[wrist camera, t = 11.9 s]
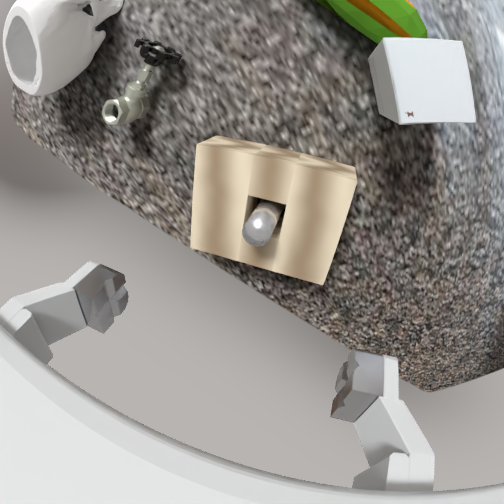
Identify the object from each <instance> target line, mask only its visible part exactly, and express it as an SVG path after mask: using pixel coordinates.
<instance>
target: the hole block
mask: <svg viewBox="0 0 504 504" xmlns="http://www.w3.org/2000/svg"><path fill="white" fill-rule="evenodd" d="M356 184H357V177H356V171H355V167H352V166H349V165H345V164H342V163H338V162H335V161H331V160H327V159H323V158H320V157H316V156H312V155H308V154H304V153H300V152H296V151H291V150H287V149H283V148H278V147H274V146H269V145H264V144H259V143H254V142H249V141H244V140H239V139H233V138H227V137H222V136H215V137H213V138H210V139H208V140H206V141H203V142H201V143H199V144H197V147H196V159H195V173H194V187H193V204H192V224H191V248H194V249H198V250H201V251H205V252H208V253H211V254H215V255H218V256H222V257H225V258H229V259H232V260H235V261H239V262H242V263H246V264H249V265H253V266H256V267H260V268H263V269H267V270H270V271H274V272H277V273H281V274H284V275H288V276H291V277H295V278H298V279H302V280H306V281H309V282H313V283H316V284H320V285H323V284H324V282H325V279H326V276H327V273H328V271H329V268H330V265H331V262H332V259H333V256H334V253H335V251H336V248H337V245H338V242H339V239H340V236H341V233H342V230H343V226H344V223H345V220H346V217H347V214H348V211H349V207H350V204H351V201H352V198H353V194H354V191H355V187H356ZM258 198H262V199H266V200H270V201H274V202H278V203H282V204H286V209H285V214H284V217H281V216H280V218H279V220H278V222H277V224H276V226H275V228H274V230H273V233H272V235H271V237H270V239H269V241H268V242H267V243H266V244H265V245H263V246H252V245H250V244H249V243H247V242H246V241H245V239H244V238H243V235H242V229H243V226H244V225H245V223H246V222H247V220H248V219H249V217H250V216H251V214H252V213H253V211H254V210H255V209H256V207H257V201H258Z"/></svg>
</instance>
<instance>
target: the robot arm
mask: <svg viewBox="0 0 504 504" xmlns="http://www.w3.org/2000/svg"><path fill="white" fill-rule="evenodd" d="M125 282H126V281H125V276H124V274H122V273H120V272H118V271H115V270H113V269H111V268H109V267H106V266H104V265H102V264H99V263H97V262H95V261H89V262H88V263H86V264H85V265H84V266H83V267H82V268H80V269H79V270H78V271H77V272H76V273H75V274H73V275H72V276H71V277H70V278H69V279H68V280H67V281H65V282H64V283H61V282H60V283H57V284H53V285H50V286H47V287H44V288H41V289H37V290H35V291H31V292H28V293H25V294H21V295H19V296H15V297H12V298H11V299H10V300H9V301H8V302H7V303H6V304H5V305H4V306H3V307H2V308H1V309H0V504H504V483H501V484H496V485H490V486H484V487H477V488H468V489H459V490H447V491H433V483H434V460H435V457H434V456H435V455H434V452H433V451H432V449H431V447H430V445H429V444H428V442H427V440H426V439H425V437H424V435H423V433H422V432H421V430H420V428H419V427H418V425H417V423H416V422H415V420H414V418H413V417H412V415H411V413H410V412H409V410H408V408H407V407H406V405H405V403H404V402H403V401H402V400H399V380H398V379H399V376H398V360H397V358H396V357H392V356H387V355H382V354H379V353H374V352H370V351H365V350H361V349H357V348H353V349H352V350H351V352H350V354H349V357H348V362H345V363H344V364H343V365H342V367H341V369H340V372H339V374H338V377H337V381H336V387H335V390H336V392H337V393H338V394H337V395H336V397H335V398H334V400H333V404H332V410H331V417H332V418H336V419H341V420H345V421H349V422H354V426H355V429H356V431H357V434H358V436H359V439H360V442H361V444H362V447H363V450H364V452H365V455H366V458H367V460H368V463H369V466H370V468H369V469H367V470H365V471H364V472H362V473H360V474H358V475H357V476H355V477H354V481H353V486H352V488H347V487H339V486H333V485H326V484H320V483H315V482H309V481H303V480H299V479H295V478H290V477H286V476H281V475H277V474H273V473H269V472H266V471H262V470H258V469H255V468H252V467H248V466H245V465H242V464H238V463H235V462H232V461H229V460H226V459H223V458H221V457H218V456H215V455H212V454H210V453H207V452H204V451H202V450H199V449H197V448H194V447H191V446H189V445H187V444H184V443H182V442H180V441H177V440H175V439H173V438H170V437H168V436H166V435H164V434H162V433H160V432H158V431H155V430H153V429H151V428H149V427H147V426H145V425H143V424H141V423H139V422H137V421H135V420H134V419H131V418H130V417H128V416H126V415H124V414H123V413H121V412H119V411H117V410H115V409H114V408H112V407H110V406H108V405H106V404H105V403H103V402H102V401H100V400H99V399H97V398H95V397H94V396H92V395H90V394H89V393H87V392H86V391H84V390H83V389H81V388H79V387H78V386H77V385H75V384H74V383H72V382H71V381H69V380H68V379H66V378H65V377H63V376H62V375H61V374H59V373H58V372H57V371H55V370H54V369H53V368H51V367H50V366H49V365H47V364H48V362H49V361H50V360H51V359H52V358H53V354H52V352H51V350H50V348H49V346H48V345H50V344H52V343H54V342H56V341H58V340H60V339H62V338H64V337H67V336H68V335H71V334H73V333H75V332H77V331H79V330H81V329H83V328H85V327H87V325H88V326H89V327H91V328H93V329H95V330H97V331H99V332H101V333H105V332H106V330H107V329H108V328H109V327H110V326H111V325H112V324H113V322H114V317H115V316H117V315H120V314H121V313H122V312H123V311H124V310H125V308H126V305H127V303H128V292H127V290H126V288H125V287H124V284H125Z"/></svg>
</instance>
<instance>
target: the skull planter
mask: <svg viewBox="0 0 504 504" xmlns="http://www.w3.org/2000/svg"><path fill="white" fill-rule="evenodd" d="M123 1H124V0H102V1H99V0H17V1H16V2H15V3H14V5H13V6H12V8H11V10H10V12H9V14H8V16H7V18H6V21H5V25H4V31H3V49H4V57H5V62H6V66H7V69H8V71H9V74H10V76H11V78H12V80H13V82H14V83H15V84H16V85H17V86H18V87H19V88H21V89H22V90H23V91H25V92H27V93H29V94H30V95H45V94H49V93H52V92H55V91H57V90H59V89H61V88H63V87H64V86H66V85H67V84H68V83H69V82H70V81H72V80H73V79H74V78H75V77H77V76H78V75H79V74H80V73H81V72H82V71H83V70H84V69H86V68H87V67H88V65H89V64H90V63H91V61H92V59H93V57H94V54H95V52H96V51H97V50H98V48H99V47H100V45H101V43H102V42H103V40H104V39H105V36H106V33H105V31H103V30H102V31H99V32H98V31H95V27H96V26H97V25H99V24H100V23H101V22H103V21H104V20H105V19H106V18H108V17H109V16H111V15H113V14H115V13H117V12H118V11H119V10H120V9H121V7H122V5H123ZM87 4H89V5H91V7H92V12H93V16H90V15H88V14H86V13H85V12H83V11H82V9H83V8H84V7H86V6H87Z"/></svg>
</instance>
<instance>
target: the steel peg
mask: <svg viewBox="0 0 504 504" xmlns="http://www.w3.org/2000/svg"><path fill="white" fill-rule="evenodd" d="M285 205H286V204H282V203H278V202H274V201H270V200H266V199H262V200H261V201H260V203H259V204H258V206H257V207H256V209H255V210H254V211H253V213H252V214H251V216H250V217H249V219H248V220H247V222H246V223H245V225H244V226H243V229H242V235H243V238H244V239H245V241H246V242H247V243H249V244H250V245H252V246H263V245H265V244H266V243H267V242H268V241H269V239H270V237H271V235H272V233H273V230H274V228H275V226H276V224H277V222H278V220H279V218H280V215H281V213H282V211H283V209H284V207H285Z"/></svg>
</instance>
